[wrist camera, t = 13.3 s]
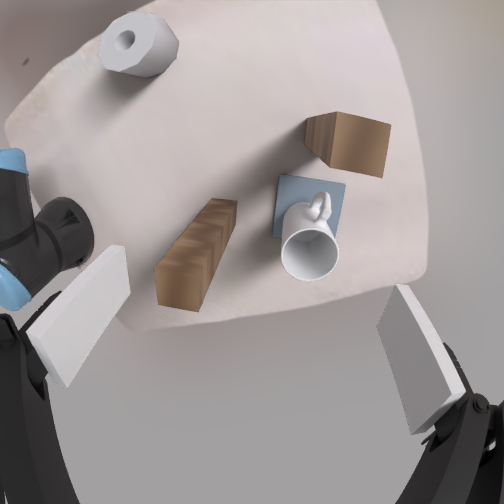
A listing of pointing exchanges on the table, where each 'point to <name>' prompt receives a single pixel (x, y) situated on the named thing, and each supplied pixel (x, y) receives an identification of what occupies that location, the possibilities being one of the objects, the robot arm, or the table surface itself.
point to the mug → (309, 240)
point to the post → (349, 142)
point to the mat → (306, 198)
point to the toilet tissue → (138, 45)
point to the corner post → (195, 257)
